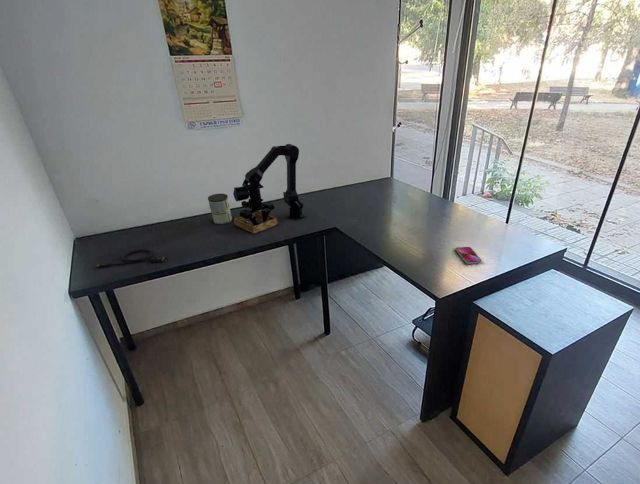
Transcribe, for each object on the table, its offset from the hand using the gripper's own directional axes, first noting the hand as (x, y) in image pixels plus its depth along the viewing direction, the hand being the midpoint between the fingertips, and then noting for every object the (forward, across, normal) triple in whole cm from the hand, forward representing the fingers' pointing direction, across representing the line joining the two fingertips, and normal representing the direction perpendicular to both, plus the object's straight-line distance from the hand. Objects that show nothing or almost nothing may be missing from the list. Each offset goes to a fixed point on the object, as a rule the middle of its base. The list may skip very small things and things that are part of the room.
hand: (259, 225), depth 207 cm
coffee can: (+1, +8, -23) cm, 24 cm away
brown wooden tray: (+1, 0, -3) cm, 3 cm away
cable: (+1, +60, -16) cm, 62 cm away
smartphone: (+1, -41, +101) cm, 109 cm away
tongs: (0, 0, -4) cm, 4 cm away
